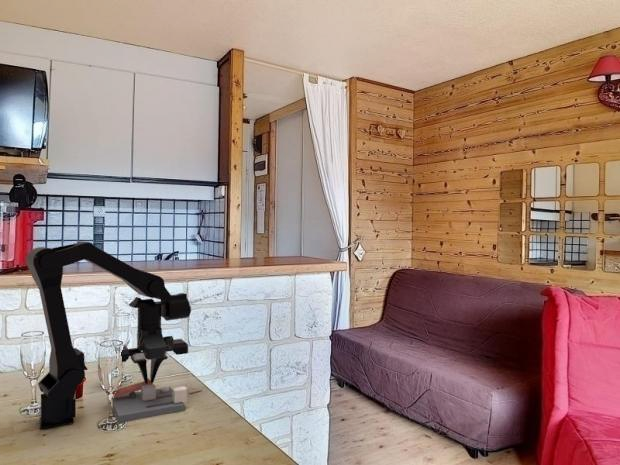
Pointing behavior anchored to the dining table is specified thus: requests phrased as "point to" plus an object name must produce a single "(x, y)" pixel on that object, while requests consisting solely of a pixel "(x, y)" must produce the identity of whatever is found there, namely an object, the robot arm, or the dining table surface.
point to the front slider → (179, 394)
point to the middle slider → (148, 392)
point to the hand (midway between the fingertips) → (149, 383)
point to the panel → (145, 405)
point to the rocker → (131, 388)
